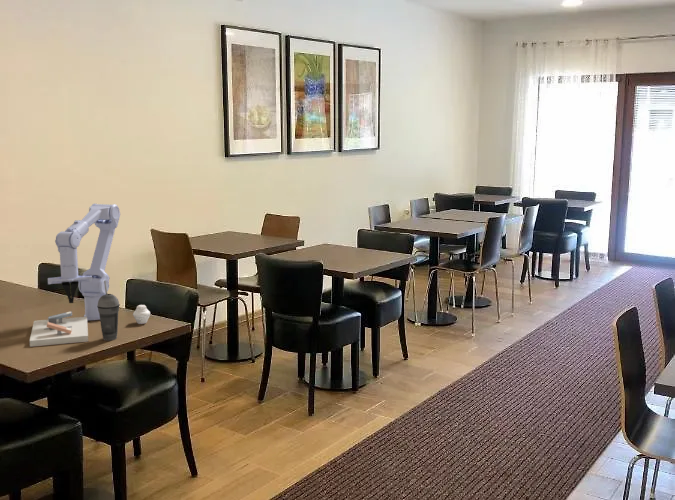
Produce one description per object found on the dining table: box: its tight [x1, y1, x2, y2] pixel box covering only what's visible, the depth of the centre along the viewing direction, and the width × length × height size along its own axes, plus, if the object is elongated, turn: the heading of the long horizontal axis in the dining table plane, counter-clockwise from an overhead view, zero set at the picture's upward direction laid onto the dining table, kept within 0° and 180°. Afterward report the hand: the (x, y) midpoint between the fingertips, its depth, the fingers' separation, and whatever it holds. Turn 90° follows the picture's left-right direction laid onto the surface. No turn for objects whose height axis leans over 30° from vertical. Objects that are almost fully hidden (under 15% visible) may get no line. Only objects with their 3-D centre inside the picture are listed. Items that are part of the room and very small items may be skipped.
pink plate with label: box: [46, 322, 72, 334], centre depth 232 cm, size 8×3×1 cm, turn 111°
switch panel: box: [29, 316, 89, 348], centre depth 240 cm, size 18×26×3 cm
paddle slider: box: [49, 318, 57, 329], centre depth 239 cm, size 2×3×3 cm
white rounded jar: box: [132, 304, 151, 325], centre depth 254 cm, size 6×6×7 cm
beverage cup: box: [97, 281, 120, 342], centre depth 233 cm, size 7×7×20 cm
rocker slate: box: [47, 310, 73, 321], centre depth 247 cm, size 8×3×1 cm, turn 110°
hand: (71, 302), depth 246 cm, fingers closed
